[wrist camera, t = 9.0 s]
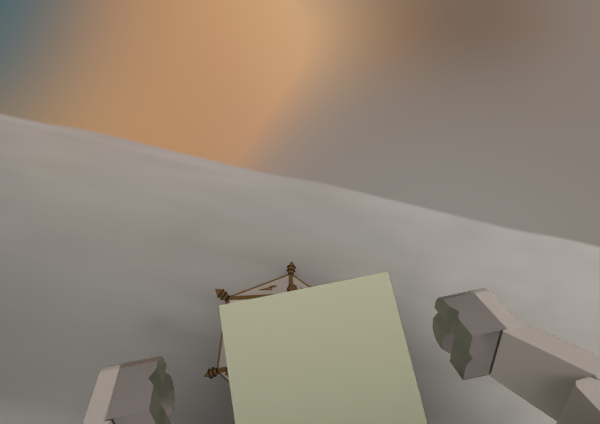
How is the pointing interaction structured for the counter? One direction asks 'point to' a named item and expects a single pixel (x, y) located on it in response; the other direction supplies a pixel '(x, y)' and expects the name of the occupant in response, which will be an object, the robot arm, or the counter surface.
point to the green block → (321, 356)
